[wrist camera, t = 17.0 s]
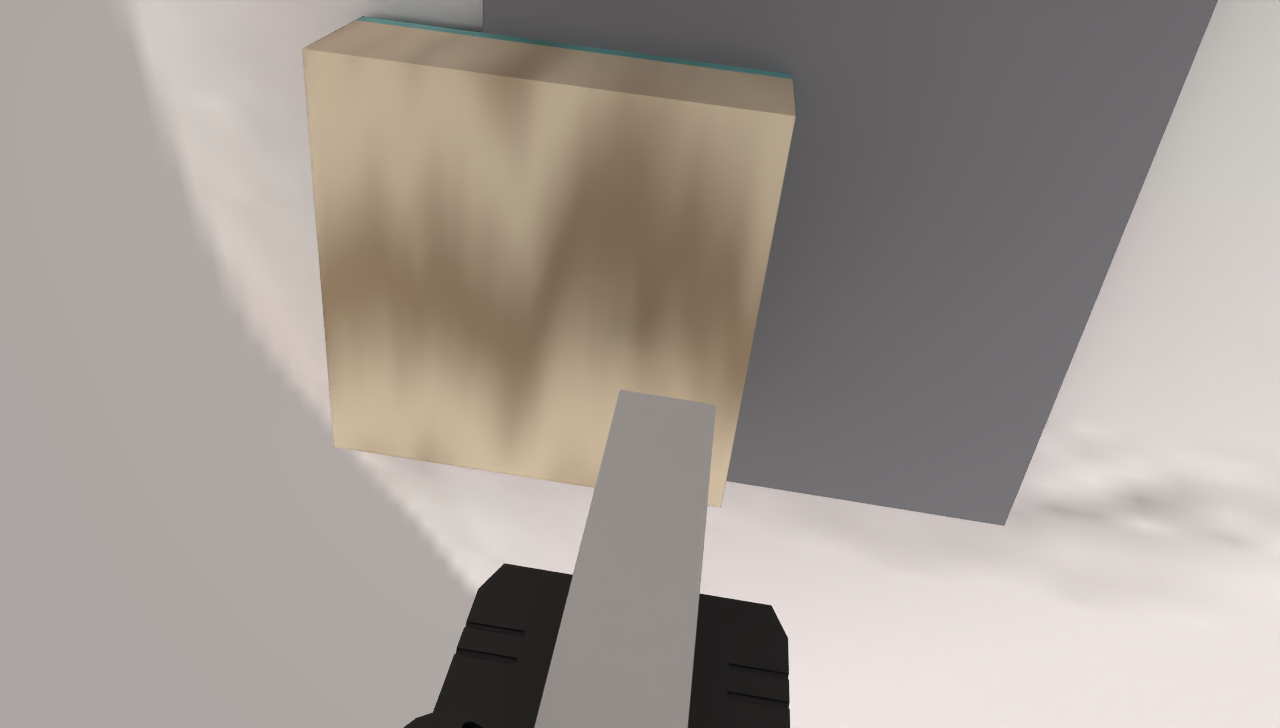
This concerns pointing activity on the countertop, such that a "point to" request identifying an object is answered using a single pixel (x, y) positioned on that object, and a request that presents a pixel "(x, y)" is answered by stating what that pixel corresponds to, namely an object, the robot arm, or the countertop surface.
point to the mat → (922, 218)
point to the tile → (535, 240)
